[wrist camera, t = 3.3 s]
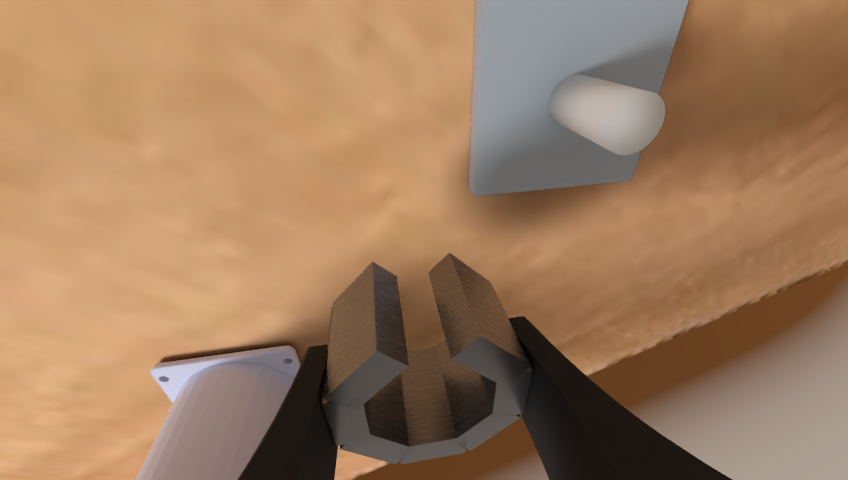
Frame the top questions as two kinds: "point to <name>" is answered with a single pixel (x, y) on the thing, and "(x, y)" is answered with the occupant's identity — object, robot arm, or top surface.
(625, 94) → the post stand
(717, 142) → the top surface
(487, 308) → the snap ring
